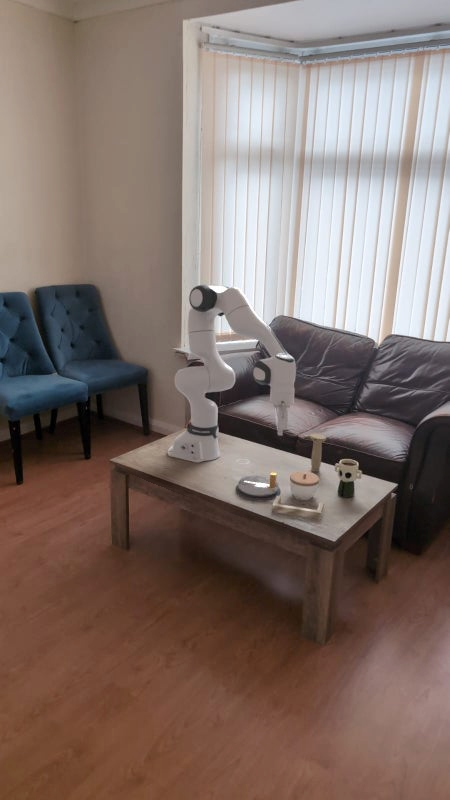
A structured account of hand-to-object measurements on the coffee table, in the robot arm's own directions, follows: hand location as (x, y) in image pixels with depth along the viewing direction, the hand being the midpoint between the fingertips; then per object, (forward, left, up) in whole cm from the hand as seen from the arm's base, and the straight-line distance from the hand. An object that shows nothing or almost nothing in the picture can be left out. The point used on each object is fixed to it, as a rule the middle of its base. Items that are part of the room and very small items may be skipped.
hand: (279, 432), depth 232 cm
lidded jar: (+12, -7, -21) cm, 25 cm away
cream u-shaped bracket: (+12, -19, -21) cm, 30 cm away
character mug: (+27, 0, -21) cm, 34 cm away
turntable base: (-5, -8, -21) cm, 23 cm away
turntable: (-5, -8, -21) cm, 23 cm away
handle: (+13, +18, -21) cm, 31 cm away
